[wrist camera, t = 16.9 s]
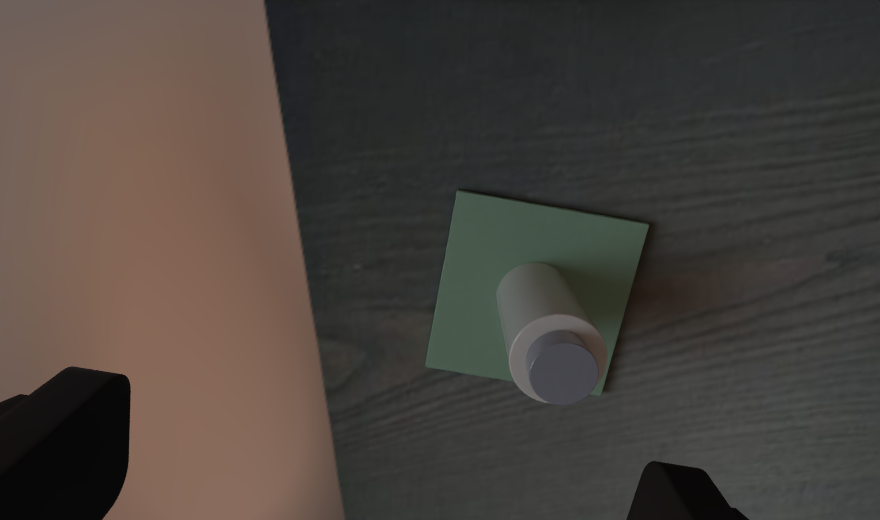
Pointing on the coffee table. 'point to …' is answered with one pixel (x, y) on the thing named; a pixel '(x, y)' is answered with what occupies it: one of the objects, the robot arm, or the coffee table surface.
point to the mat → (519, 242)
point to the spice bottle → (548, 335)
